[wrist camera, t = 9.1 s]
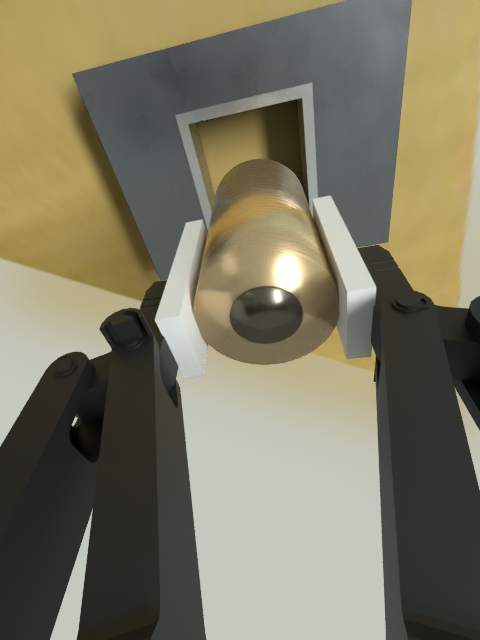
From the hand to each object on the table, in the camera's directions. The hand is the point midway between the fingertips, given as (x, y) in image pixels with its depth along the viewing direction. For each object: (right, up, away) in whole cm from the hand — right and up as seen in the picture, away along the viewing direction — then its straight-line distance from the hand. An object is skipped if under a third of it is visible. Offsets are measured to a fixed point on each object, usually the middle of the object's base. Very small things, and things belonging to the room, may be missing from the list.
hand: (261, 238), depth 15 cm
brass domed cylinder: (0, +2, +3) cm, 4 cm away
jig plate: (0, +8, +9) cm, 12 cm away
